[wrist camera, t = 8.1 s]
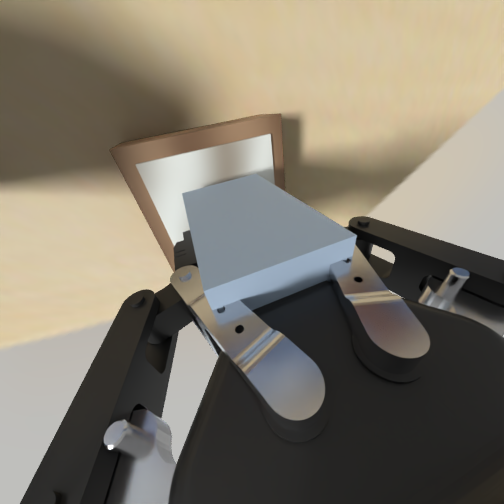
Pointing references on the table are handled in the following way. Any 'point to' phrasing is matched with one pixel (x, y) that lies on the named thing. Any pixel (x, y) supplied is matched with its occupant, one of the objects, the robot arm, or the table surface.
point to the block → (260, 242)
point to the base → (197, 168)
